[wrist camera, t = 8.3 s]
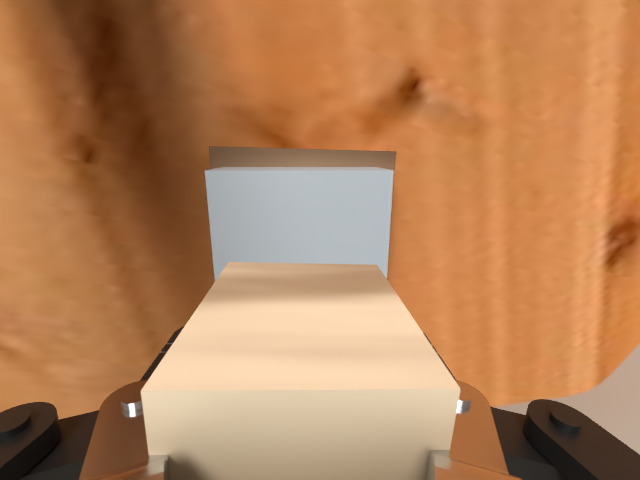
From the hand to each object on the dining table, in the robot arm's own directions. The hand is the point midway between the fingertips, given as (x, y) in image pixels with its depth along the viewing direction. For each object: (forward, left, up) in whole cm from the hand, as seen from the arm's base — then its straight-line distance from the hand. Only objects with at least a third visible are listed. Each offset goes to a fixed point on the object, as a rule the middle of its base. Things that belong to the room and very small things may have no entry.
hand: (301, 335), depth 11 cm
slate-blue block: (0, 0, -12) cm, 12 cm away
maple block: (0, 0, 0) cm, 0 cm away
